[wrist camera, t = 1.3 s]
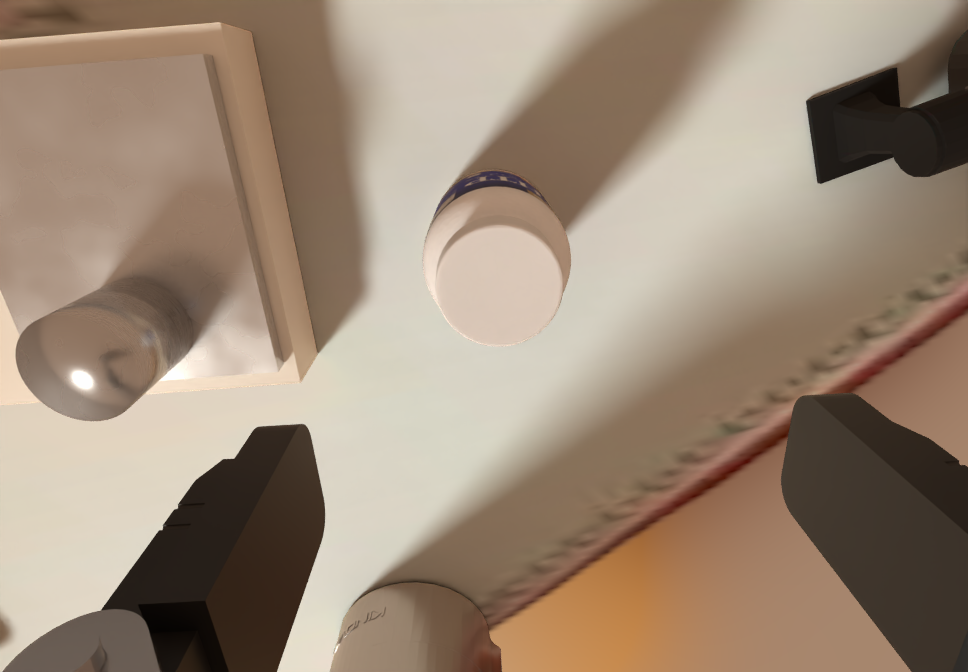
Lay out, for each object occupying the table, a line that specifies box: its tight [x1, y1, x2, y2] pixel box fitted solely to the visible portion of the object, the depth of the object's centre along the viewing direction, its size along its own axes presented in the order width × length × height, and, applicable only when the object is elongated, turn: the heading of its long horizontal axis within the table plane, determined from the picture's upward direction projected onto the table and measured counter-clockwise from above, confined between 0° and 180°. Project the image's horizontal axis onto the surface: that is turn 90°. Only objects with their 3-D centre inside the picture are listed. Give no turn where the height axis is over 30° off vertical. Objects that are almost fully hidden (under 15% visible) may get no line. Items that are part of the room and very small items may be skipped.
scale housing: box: [0, 22, 318, 405], centre depth 23 cm, size 16×14×4 cm
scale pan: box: [0, 54, 284, 381], centre depth 22 cm, size 10×12×1 cm
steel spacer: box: [15, 279, 193, 421], centre depth 21 cm, size 4×4×4 cm
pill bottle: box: [423, 169, 571, 346], centre depth 21 cm, size 5×5×9 cm
